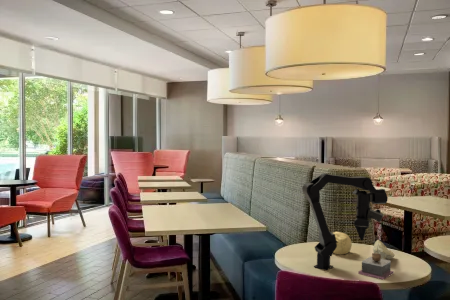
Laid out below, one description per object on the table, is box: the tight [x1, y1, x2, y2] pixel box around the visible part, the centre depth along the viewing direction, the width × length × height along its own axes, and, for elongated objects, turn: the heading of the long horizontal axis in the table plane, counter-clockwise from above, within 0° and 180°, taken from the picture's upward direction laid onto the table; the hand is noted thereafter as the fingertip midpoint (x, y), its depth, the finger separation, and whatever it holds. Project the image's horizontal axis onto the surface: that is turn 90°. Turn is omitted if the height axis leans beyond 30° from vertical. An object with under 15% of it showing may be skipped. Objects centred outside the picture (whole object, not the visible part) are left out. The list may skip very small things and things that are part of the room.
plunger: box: [371, 252, 381, 262], centre depth 183 cm, size 7×7×7 cm
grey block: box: [358, 256, 395, 280], centre depth 183 cm, size 11×11×6 cm
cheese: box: [372, 239, 395, 261], centre depth 202 cm, size 15×7×15 cm
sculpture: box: [332, 231, 352, 255], centre depth 215 cm, size 12×12×11 cm
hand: (362, 237), depth 193 cm, fingers open, 9 cm apart
